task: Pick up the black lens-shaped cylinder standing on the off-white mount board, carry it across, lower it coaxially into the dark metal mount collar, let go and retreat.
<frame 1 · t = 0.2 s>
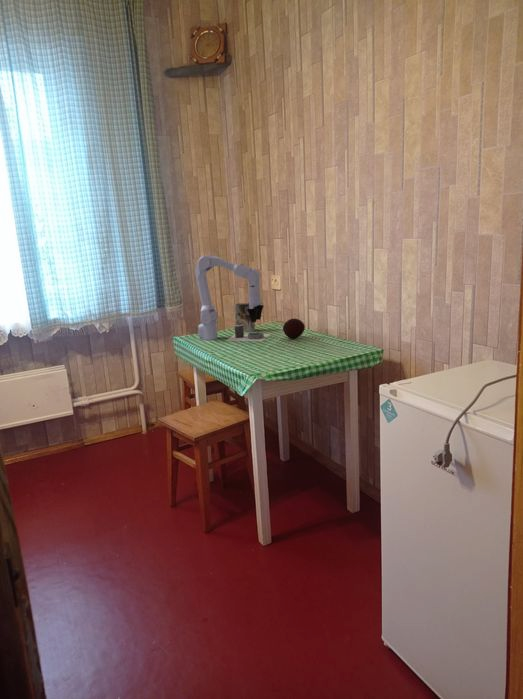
hand: (256, 320, 262), 10 cm above the table, fingers open, 7 cm apart
coconut: (294, 338, 262), on the table
mount board: (248, 339, 267), on the table
coffee box: (246, 332, 286), on the table
lens: (239, 337, 269), point 1 cm above the table, touching mount board
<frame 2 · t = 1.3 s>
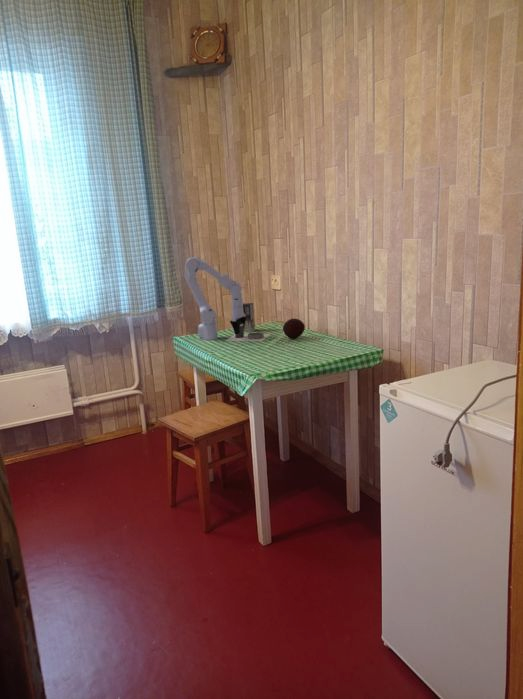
hand: (239, 332, 269), 3 cm above the table, fingers open, 7 cm apart
nothing on the table moved.
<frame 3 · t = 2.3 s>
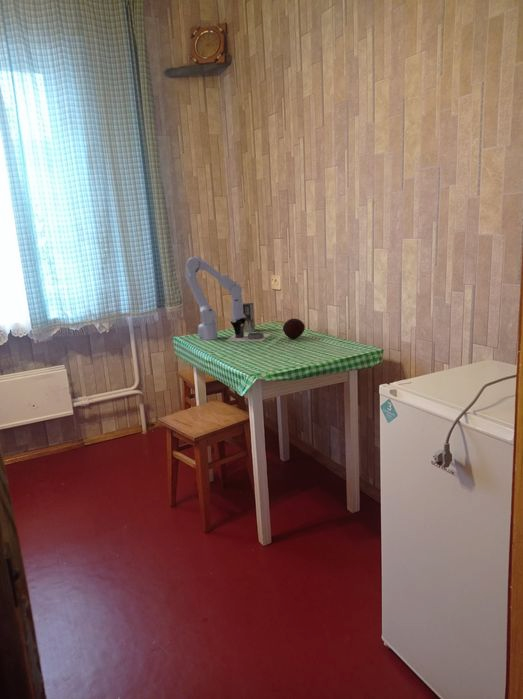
hand: (239, 333, 269), 3 cm above the table, fingers closed on lens, 4 cm apart
lens: (239, 337, 269), point 1 cm above the table, touching gripper, mount board
everything else where it was.
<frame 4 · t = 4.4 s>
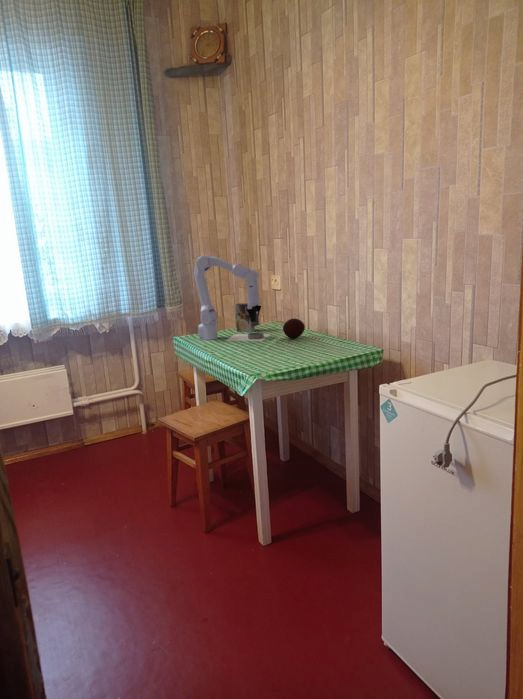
hand: (254, 320, 263), 10 cm above the table, fingers closed on lens, 4 cm apart
lens: (254, 325, 263), point 8 cm above the table, touching gripper
everything else where it was.
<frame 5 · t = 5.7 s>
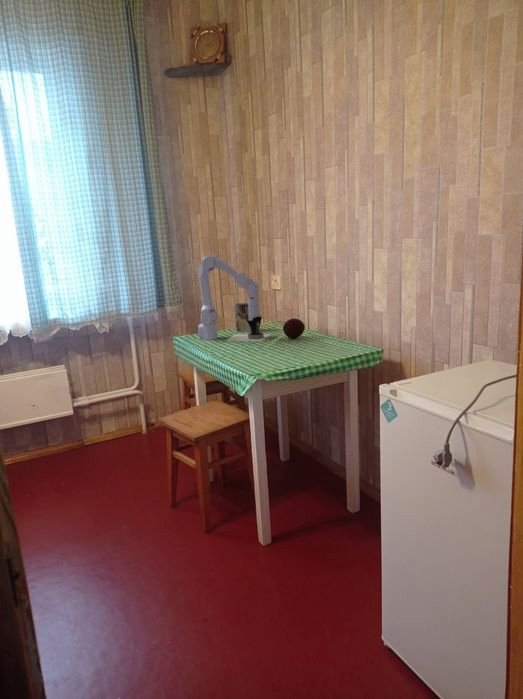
hand: (255, 332, 264), 4 cm above the table, fingers closed on lens, 4 cm apart
lens: (255, 336, 265), point 2 cm above the table, touching gripper
everything else where it was.
when the fingers open (4 cm above the table, at t = 6.6 s): lens stays where it is, resting on mount board.
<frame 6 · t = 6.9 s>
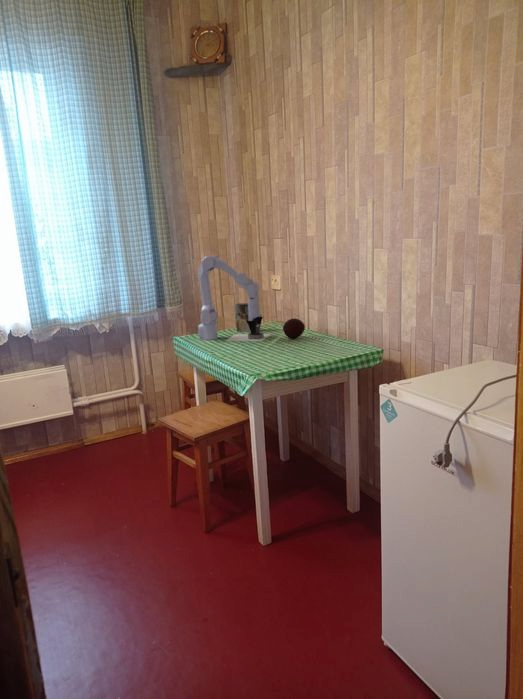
hand: (255, 332, 264), 4 cm above the table, fingers open, 7 cm apart
lens: (255, 337, 265), point 1 cm above the table, touching mount board
everything else where it was.
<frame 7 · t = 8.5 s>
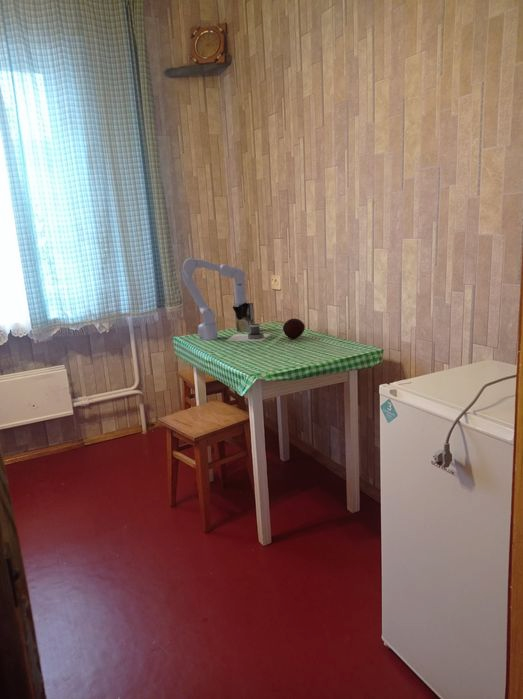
hand: (242, 318, 270), 10 cm above the table, fingers open, 7 cm apart
nothing on the table moved.
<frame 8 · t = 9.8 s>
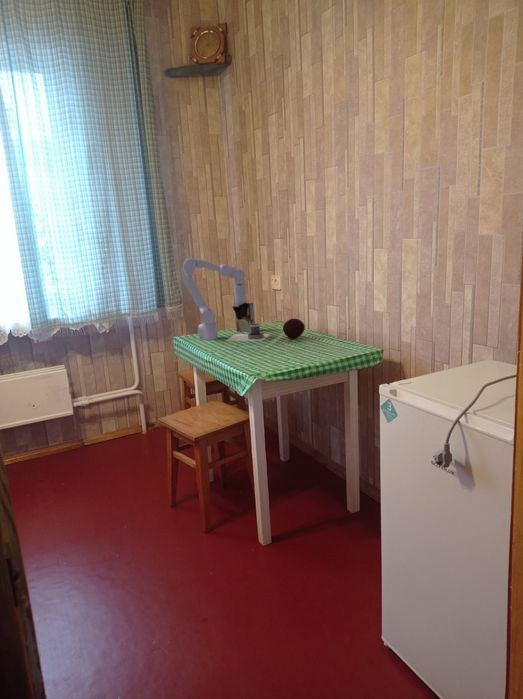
hand: (242, 318, 270), 10 cm above the table, fingers open, 7 cm apart
nothing on the table moved.
at the end: lens 0.1 cm from the target spot on the mount board, point 1.0 cm above the mount board's base; lens tilted 1°; the gripper is holding nothing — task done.
